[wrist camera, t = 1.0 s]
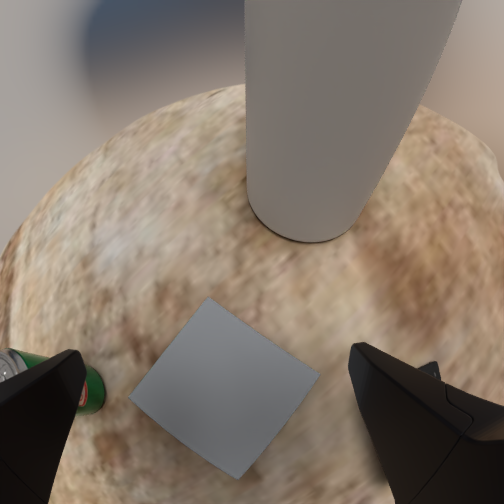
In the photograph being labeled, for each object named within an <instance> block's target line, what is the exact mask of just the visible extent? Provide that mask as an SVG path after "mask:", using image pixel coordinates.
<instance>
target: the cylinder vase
mask: <svg viewBox="0 0 504 504" xmlns="http://www.w3.org/2000/svg"><path fill="white" fill-rule="evenodd" d="M461 3H462V0H245V74H246V75H245V76H246V77H245V80H246V164H247V195H248V199H249V202H250V205H251V207H252V209H253V211H254V212H255V214H256V215H257V217H258V218H259V219H260V220H261V221H262V222H263V223H264V224H265V225H266V226H267V227H268V228H270V229H271V230H273V231H274V232H276V233H278V234H280V235H282V236H284V237H286V238H289V239H292V240H296V241H302V242H321V241H326V240H330V239H333V238H335V237H338V236H340V235H341V234H343V233H344V232H346V231H347V230H348V229H349V228H350V227H351V226H352V225H353V224H354V223H355V221H356V220H357V218H358V217H359V215H360V213H361V211H362V210H363V208H364V206H365V205H366V203H367V201H368V200H369V198H370V196H371V194H372V193H373V191H374V189H375V187H376V186H377V184H378V182H379V180H380V178H381V177H382V175H383V173H384V171H385V169H386V168H387V166H388V164H389V162H390V160H391V158H392V157H393V155H394V153H395V151H396V149H397V147H398V145H399V143H400V141H401V140H402V138H403V136H404V134H405V132H406V130H407V128H408V126H409V124H410V122H411V120H412V118H413V116H414V114H415V112H416V110H417V108H418V106H419V103H420V101H421V99H422V97H423V95H424V93H425V91H426V89H427V86H428V84H429V82H430V80H431V78H432V75H433V73H434V71H435V69H436V66H437V64H438V62H439V59H440V57H441V55H442V52H443V50H444V47H445V45H446V43H447V40H448V38H449V35H450V32H451V30H452V27H453V25H454V22H455V19H456V17H457V13H458V11H459V8H460V5H461Z"/></svg>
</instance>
